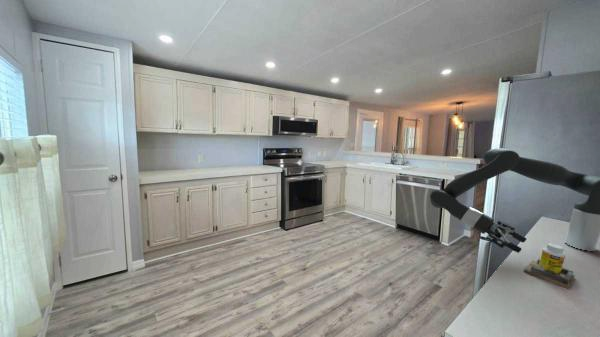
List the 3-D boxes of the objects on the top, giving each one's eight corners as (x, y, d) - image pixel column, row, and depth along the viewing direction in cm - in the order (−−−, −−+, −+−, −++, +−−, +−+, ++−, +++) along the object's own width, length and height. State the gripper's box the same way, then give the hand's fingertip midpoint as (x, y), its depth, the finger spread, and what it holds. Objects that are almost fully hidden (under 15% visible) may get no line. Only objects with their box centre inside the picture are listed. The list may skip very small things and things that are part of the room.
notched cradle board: (532, 262, 93) (533, 256, 93) (574, 277, 84) (575, 271, 84) (523, 271, 87) (524, 265, 86) (567, 289, 78) (569, 282, 77)
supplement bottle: (544, 274, 84) (550, 247, 82) (534, 266, 89) (540, 240, 87) (564, 278, 82) (571, 251, 80) (553, 269, 87) (559, 243, 85)
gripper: (475, 220, 95) (524, 247, 85) (486, 207, 104) (532, 231, 94) (466, 233, 99) (512, 261, 89) (478, 219, 108) (521, 243, 98)
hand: (522, 245), depth 91 cm, fingers open, 8 cm apart
